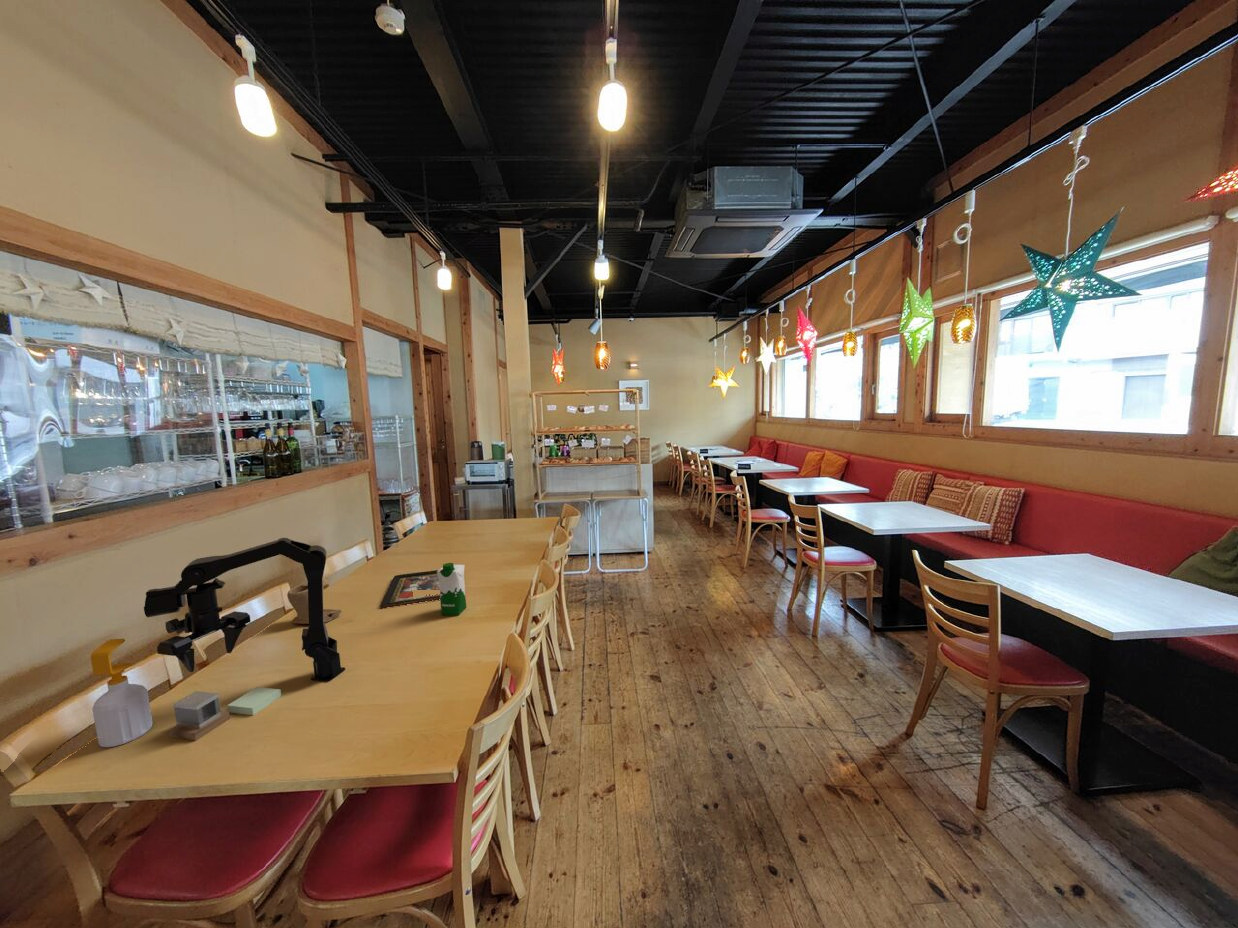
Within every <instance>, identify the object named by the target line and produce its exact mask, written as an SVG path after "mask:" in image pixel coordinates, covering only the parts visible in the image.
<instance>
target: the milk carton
mask: <svg viewBox="0 0 1238 928" xmlns="http://www.w3.org/2000/svg"><path fill="white" fill-rule="evenodd" d="M437 570H438V571H437V574H438V579H439V589H440V600H439V601H440V612H441V616H456V617H457V616H460V615H461V614H462V613H463V611H465V610H466V609H467V600H466V599H467V598H466V588H465V587H466V586H465V564H454V563H453V562H447V563H443V564H442V567H441V568H439V569H437Z"/></svg>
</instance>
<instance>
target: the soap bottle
mask: <svg viewBox="0 0 1238 928" xmlns="http://www.w3.org/2000/svg"><path fill="white" fill-rule="evenodd" d="M124 642H126V639H125V638H112V639H108V640H106V641H105V642H104V643H102V644H101V645H100V646H98V647H97V648H96V649H94V650H93V652H92V653H91V655H90V663H91V666H92V667H91V668H92V673H93V675H95V676H101V675H102V676H105V675H106V676H107V677H111V679H109V680H108V681H107V684H106V685H107V691H106V692H105V693H103V694H102V695H100V696H99V697H98V698H97V699H96V700H95V702H94V704H93V705H92V708H91V709H92V715H93V716H92V717H93V719H94V725H95V731H96V737H97V742H98V745H99V746H100V747H101V748H114V747H117V746H121V745H124V744H127V743H130V742H132V741H134V740H136V739H138V738H140V737H142V736H143V735H145V734H146V733H147V732H149V730H150V729H151V728H153V727H152V726H153V718H152V712H151V711H152V710H151V705H150V697H149V693H148V689H147V688H146V686H144V685H143V684H136V683H129V679H128V676H127V675H123V673H124V672H125V670H126V669H128V668H129V667H131V666H132V665H133V664H132V662H124V663H122V662H121V663H116V664H113V665H112V661H111V654H112V653H113V652H114V651H115V650H116V649H117V648H118V647H120V646H121V645H122V644H124ZM106 733H107V734H106ZM98 737H100V738H98Z"/></svg>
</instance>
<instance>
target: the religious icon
mask: <svg viewBox="0 0 1238 928" xmlns="http://www.w3.org/2000/svg"><path fill="white" fill-rule="evenodd" d="M438 570H439V569H436V570H427V571H421V572H420V571H419V572H410V573H402V574H397V575H394V576H393V578H392V580H391V581H390V584H389V586H388V587H387V590H386V592H385V595H384V597H383V599H382V601H381V603H380V609H382V610H383V608H384V609H388V608H387V607H391V608H394V607H393V606H398V607H401V606H400V605H405V606H408V605H407V604H411V605H414V604H413V603H418V604H420V603H419V602H425V601H432V600H438V601H440V600H439V599H440V594H439V595H438V594H436V595H434V596H433V595H432V596H430V594H429V596H427V595H426V596H424V597H423V596H421V597H418V598H416V599H414V598H413V592H412V591H411V590H440V589H439V579H438V574H437V571H438ZM432 602H433V601H432ZM425 603H426V602H425Z"/></svg>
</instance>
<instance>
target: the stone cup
mask: <svg viewBox="0 0 1238 928" xmlns="http://www.w3.org/2000/svg"><path fill="white" fill-rule="evenodd" d="M286 596H287V600H288V602H289V604H290V605H291V606H292V607H293V609H294V610H295V611H296V616H295V617H293V618H292V620H291V622H292V623H293V624H300V625H301V624H302V625H303V624H308V625H309V611H308V582H307V583H306V582H304V583H301V584H298V585H296V586H294V587H292V588H290V589H289V590H288V592H287V595H286ZM342 612H343V610H342V609H331V608H330V609H329V608H328V609H327V608H326V609H325V608H323V617H324V623H327V622H330V621H332V620H334V619H335V618H338V616H340V614H341V613H342Z"/></svg>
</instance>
